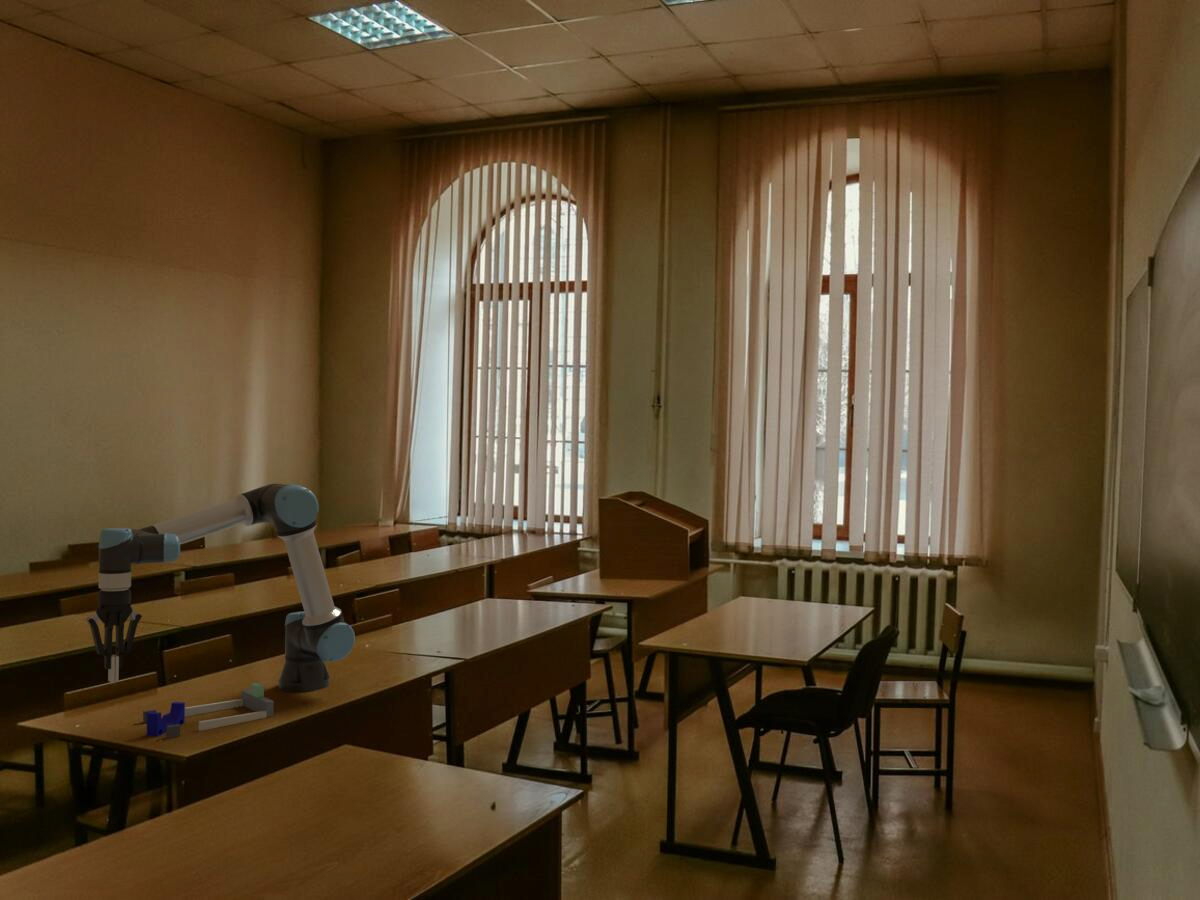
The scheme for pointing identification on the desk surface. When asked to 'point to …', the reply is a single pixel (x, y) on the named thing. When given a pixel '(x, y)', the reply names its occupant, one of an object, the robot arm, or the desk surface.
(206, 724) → the port dock
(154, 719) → the blue u-shaped block
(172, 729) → the holster stops
